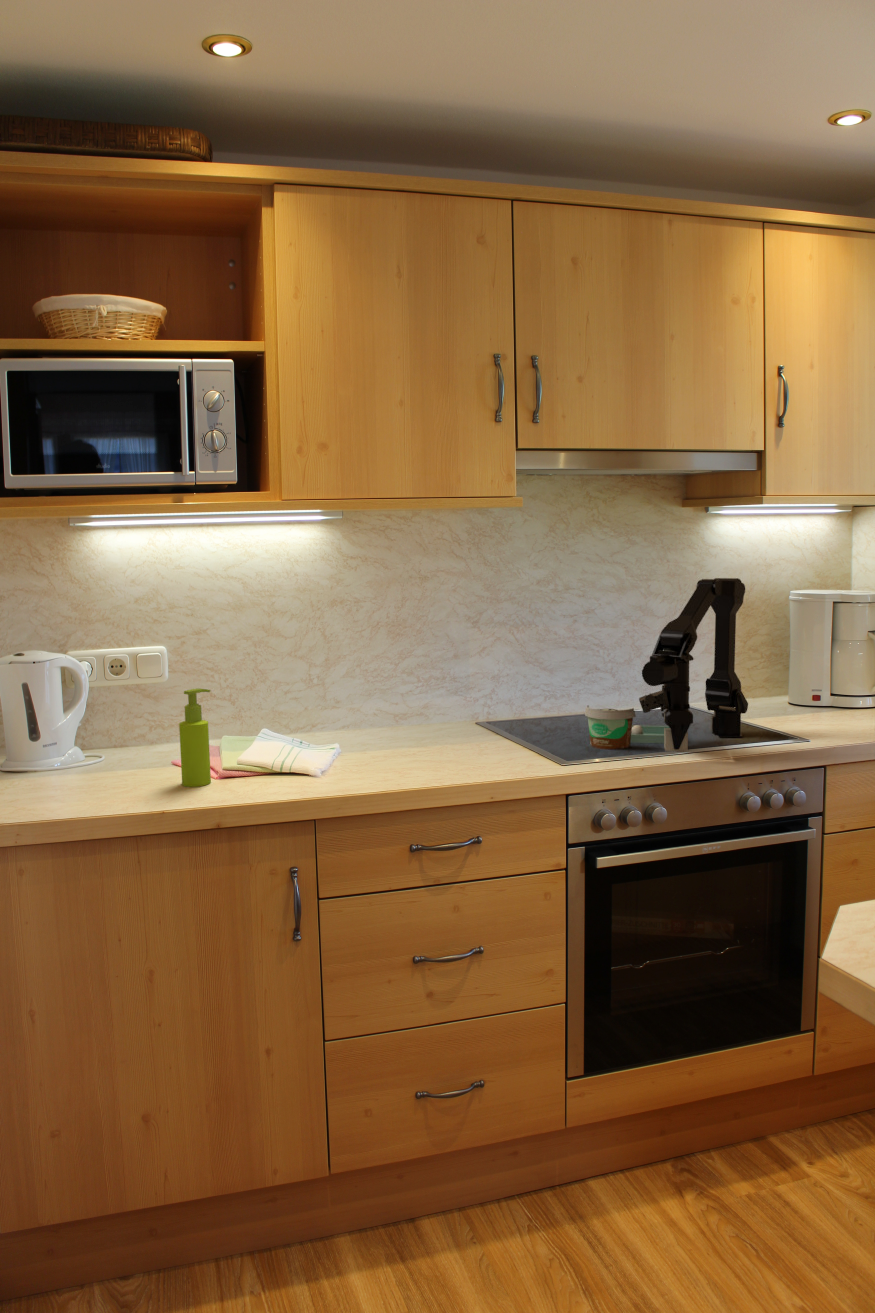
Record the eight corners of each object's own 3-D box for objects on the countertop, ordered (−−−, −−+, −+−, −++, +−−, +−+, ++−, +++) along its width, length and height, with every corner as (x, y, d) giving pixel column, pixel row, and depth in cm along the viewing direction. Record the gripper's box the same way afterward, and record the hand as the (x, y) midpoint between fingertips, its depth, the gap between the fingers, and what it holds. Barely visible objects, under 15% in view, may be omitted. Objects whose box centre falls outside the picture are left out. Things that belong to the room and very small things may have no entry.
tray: (677, 735, 237) (677, 726, 237) (680, 746, 225) (680, 735, 225) (624, 735, 239) (624, 725, 239) (624, 744, 227) (625, 734, 227)
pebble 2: (643, 738, 232) (643, 727, 231) (643, 740, 229) (643, 729, 229) (631, 738, 232) (631, 727, 232) (631, 740, 230) (631, 729, 229)
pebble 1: (642, 735, 236) (642, 724, 235) (642, 737, 233) (642, 726, 233) (631, 734, 236) (631, 724, 236) (631, 737, 233) (631, 726, 233)
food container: (577, 750, 222) (577, 708, 221) (586, 745, 228) (586, 704, 227) (628, 754, 217) (628, 712, 216) (635, 749, 222) (635, 708, 221)
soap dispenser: (220, 781, 198) (216, 688, 196) (192, 788, 193) (187, 692, 191) (204, 777, 202) (200, 686, 200) (176, 784, 197) (171, 690, 194)
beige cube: (685, 749, 221) (685, 728, 221) (687, 753, 217) (687, 732, 216) (664, 748, 222) (664, 728, 222) (665, 753, 217) (665, 732, 217)
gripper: (639, 675, 228) (639, 738, 230) (642, 686, 210) (642, 754, 212) (686, 675, 226) (685, 739, 228) (693, 687, 208) (692, 756, 210)
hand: (675, 746), depth 219 cm, fingers closed on beige cube, 5 cm apart
